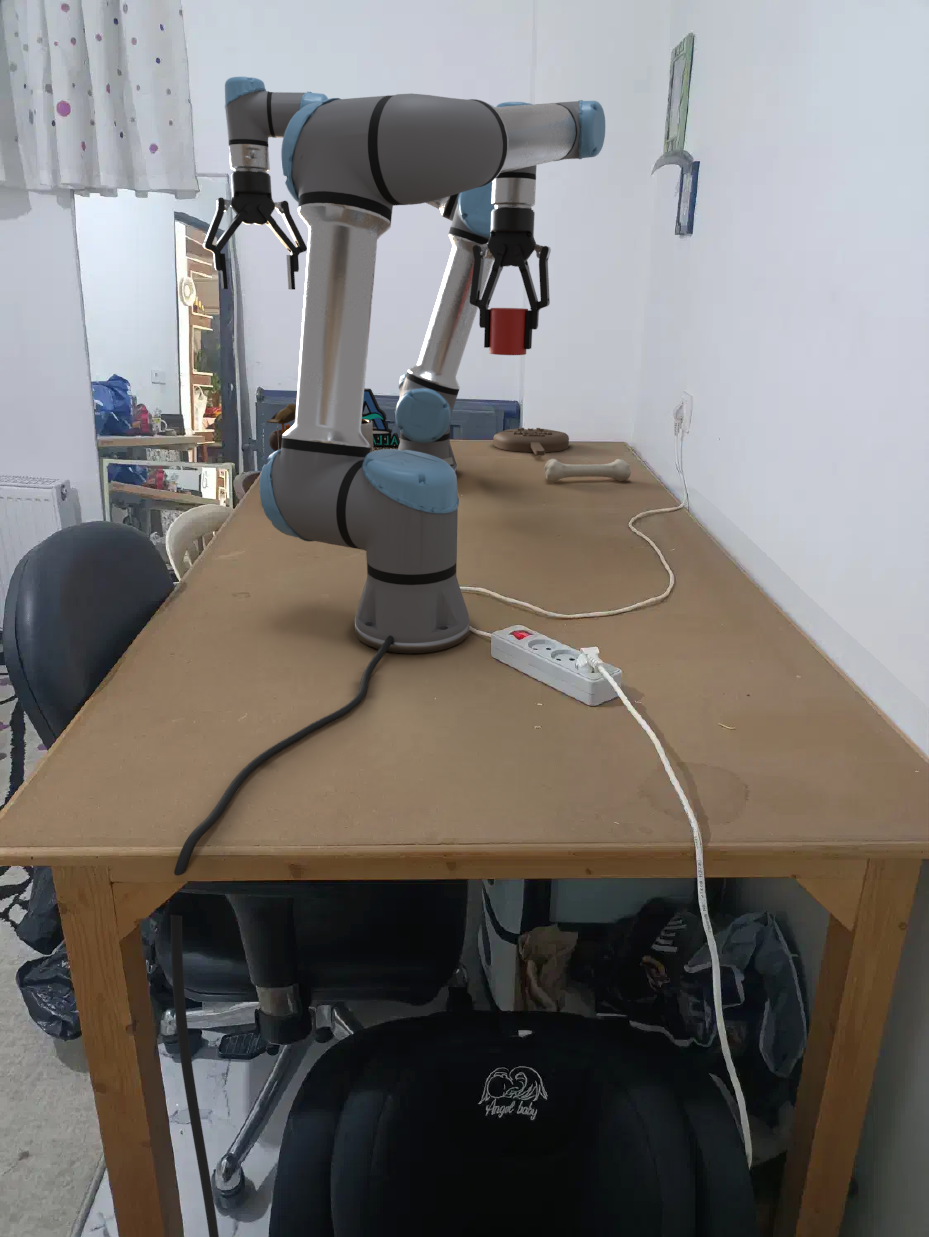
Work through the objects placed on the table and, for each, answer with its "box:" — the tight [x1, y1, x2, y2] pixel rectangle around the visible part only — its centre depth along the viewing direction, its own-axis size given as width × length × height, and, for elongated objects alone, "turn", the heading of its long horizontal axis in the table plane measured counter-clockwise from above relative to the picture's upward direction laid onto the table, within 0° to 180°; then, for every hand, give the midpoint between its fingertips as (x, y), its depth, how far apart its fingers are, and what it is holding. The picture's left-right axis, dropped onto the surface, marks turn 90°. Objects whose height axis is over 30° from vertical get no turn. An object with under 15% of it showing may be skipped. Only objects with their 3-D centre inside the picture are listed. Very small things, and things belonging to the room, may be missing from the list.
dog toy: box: [543, 458, 632, 482], centre depth 196 cm, size 20×6×5 cm, turn 99°
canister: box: [488, 307, 529, 356], centre depth 153 cm, size 7×7×8 cm
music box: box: [266, 403, 296, 452], centre depth 172 cm, size 15×11×20 cm
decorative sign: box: [362, 387, 400, 448], centre depth 229 cm, size 19×2×15 cm, turn 86°
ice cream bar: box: [492, 427, 570, 457], centre depth 228 cm, size 21×28×4 cm
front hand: (507, 347), depth 154 cm, fingers closed on canister, 7 cm apart
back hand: (258, 289), depth 172 cm, fingers open, 13 cm apart
